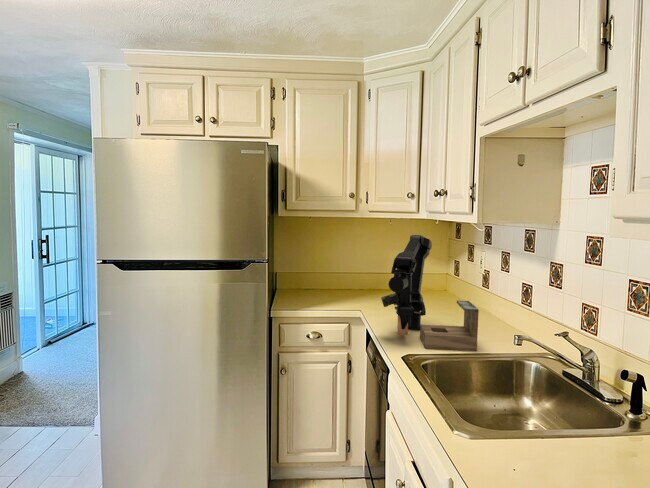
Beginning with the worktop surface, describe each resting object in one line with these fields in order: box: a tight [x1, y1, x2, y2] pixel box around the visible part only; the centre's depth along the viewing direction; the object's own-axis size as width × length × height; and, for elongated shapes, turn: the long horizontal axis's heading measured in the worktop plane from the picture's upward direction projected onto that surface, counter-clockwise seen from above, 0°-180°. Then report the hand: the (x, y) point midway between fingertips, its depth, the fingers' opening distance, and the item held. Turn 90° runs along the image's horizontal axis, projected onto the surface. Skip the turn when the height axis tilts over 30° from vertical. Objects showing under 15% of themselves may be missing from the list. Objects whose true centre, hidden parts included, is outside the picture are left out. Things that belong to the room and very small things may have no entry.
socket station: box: [419, 300, 479, 352], centre depth 153 cm, size 14×18×15 cm
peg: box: [396, 314, 409, 337], centre depth 159 cm, size 4×4×8 cm
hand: (402, 327), depth 160 cm, fingers closed on peg, 4 cm apart
